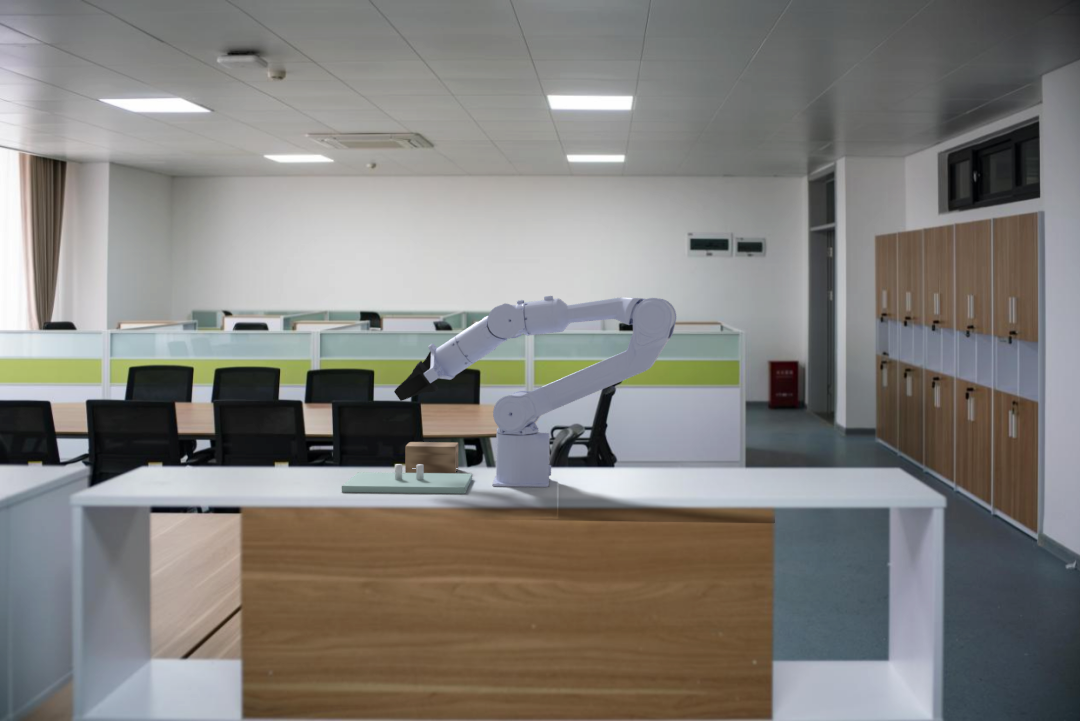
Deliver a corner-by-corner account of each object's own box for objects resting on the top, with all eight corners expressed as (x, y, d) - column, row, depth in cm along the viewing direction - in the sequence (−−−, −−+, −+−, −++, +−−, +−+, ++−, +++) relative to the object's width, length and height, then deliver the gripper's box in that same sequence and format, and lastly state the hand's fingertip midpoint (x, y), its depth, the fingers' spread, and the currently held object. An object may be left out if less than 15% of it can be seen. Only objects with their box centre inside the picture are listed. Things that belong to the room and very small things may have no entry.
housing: (458, 469, 165) (458, 442, 165) (455, 474, 160) (455, 446, 160) (410, 468, 165) (410, 442, 165) (405, 473, 160) (405, 446, 160)
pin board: (472, 479, 156) (472, 459, 155) (464, 493, 144) (464, 472, 143) (358, 477, 156) (358, 458, 156) (341, 491, 144) (341, 470, 144)
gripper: (460, 322, 161) (401, 361, 164) (443, 338, 147) (378, 381, 150) (482, 354, 162) (423, 392, 165) (467, 373, 148) (402, 415, 150)
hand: (403, 389), depth 157 cm, fingers open, 7 cm apart
